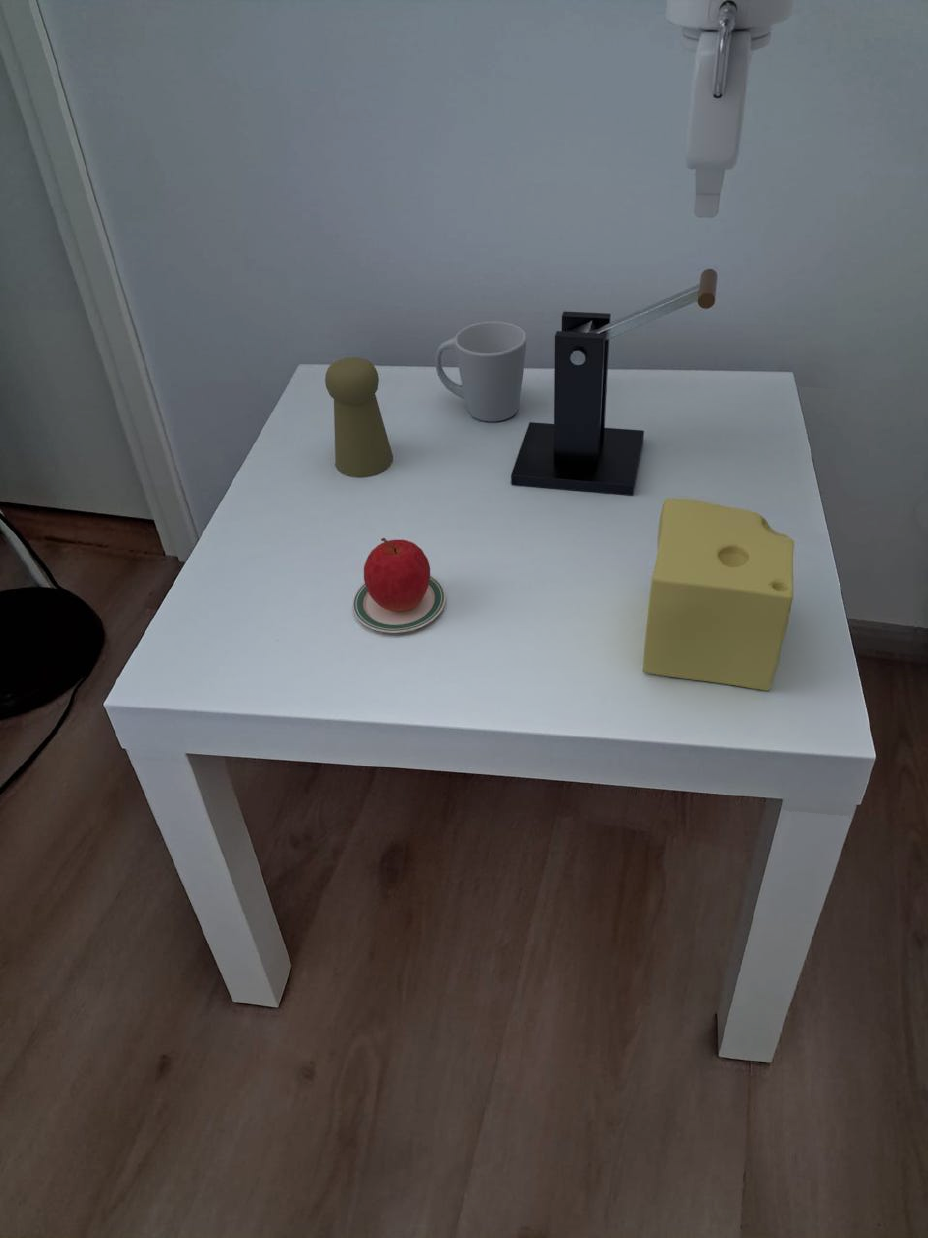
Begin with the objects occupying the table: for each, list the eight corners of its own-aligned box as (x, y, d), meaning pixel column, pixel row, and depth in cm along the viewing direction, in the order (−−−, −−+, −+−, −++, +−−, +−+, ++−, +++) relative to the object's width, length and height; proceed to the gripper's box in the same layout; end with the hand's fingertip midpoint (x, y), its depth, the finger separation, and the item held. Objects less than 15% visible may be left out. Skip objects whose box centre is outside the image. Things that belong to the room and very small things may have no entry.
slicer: (643, 440, 97) (654, 303, 87) (633, 495, 90) (644, 354, 80) (529, 431, 100) (528, 297, 90) (511, 485, 93) (507, 346, 83)
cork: (333, 449, 99) (316, 353, 92) (389, 441, 100) (377, 345, 93) (337, 480, 95) (320, 383, 88) (396, 472, 96) (384, 374, 88)
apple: (365, 571, 84) (355, 513, 80) (453, 577, 83) (448, 518, 78) (343, 633, 78) (331, 573, 74) (436, 639, 77) (430, 579, 73)
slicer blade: (722, 284, 82) (711, 260, 81) (719, 309, 79) (709, 284, 78) (578, 346, 89) (567, 325, 88) (570, 372, 86) (558, 350, 85)
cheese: (778, 606, 78) (801, 508, 71) (773, 700, 70) (798, 601, 64) (652, 589, 80) (662, 493, 73) (634, 678, 73) (644, 580, 66)
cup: (519, 430, 100) (517, 356, 94) (430, 422, 102) (423, 349, 97) (534, 394, 105) (533, 323, 100) (449, 387, 108) (443, 317, 102)
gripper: (777, 19, 58) (746, 243, 68) (776, -38, 73) (751, 153, 82) (674, 22, 60) (658, 241, 69) (693, -35, 74) (677, 152, 83)
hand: (708, 192), depth 76 cm, fingers open, 8 cm apart
